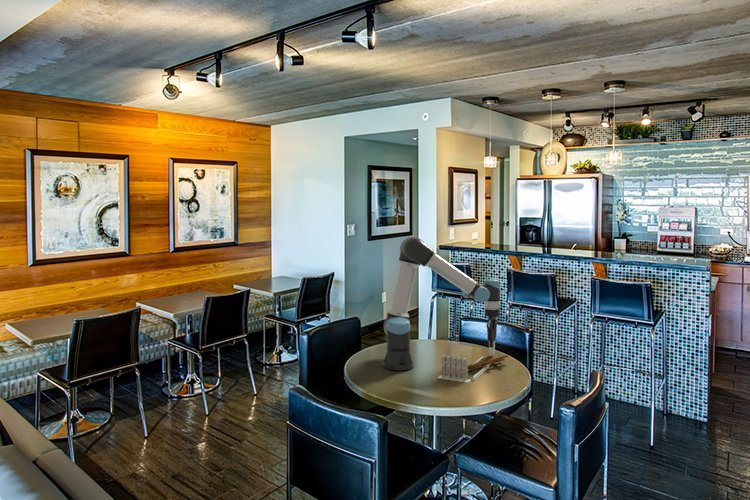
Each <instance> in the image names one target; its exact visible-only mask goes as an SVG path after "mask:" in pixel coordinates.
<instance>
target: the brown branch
mask: <svg viewBox="0 0 750 500" xmlns="http://www.w3.org/2000/svg"><path fill="white" fill-rule="evenodd" d="M507 358H509V355H508V354H507V355H504V356H499V357H496V358H492V359H489V360H484V361H479V362H478V363H477V364H473V363H472V364H473V365H472V364H470V365H467V368H469V370H470V371H471V370H475V369H478V368H481V367H485V366H486V365H489V364H492V365H493V364H495V363H498V362H499V363H500V362H504V361H505V360H506V359H507Z"/></svg>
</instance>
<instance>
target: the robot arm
mask: <svg viewBox="0 0 750 500" xmlns="http://www.w3.org/2000/svg"><path fill="white" fill-rule="evenodd" d="M399 249H400V253H399V257H398V258H399V259H398V262H399V264H400V267H399V271H398V277H397V281H396V285H395V290H394V295H393V299H392V304H391V308H390V309H389V310H388V311H387V314H386V319H385V320H384V321H383V331H384V333H385V335H386V351H385V355H384V358H383V362H382V364H383V366H382V367H383V368H385V369H387V370H391V371H392V370H393V371H406V370H411V369H413V368H414V365H415V363H414V361H415V360H414V359H413V356H412V351H411V321H410V320H409V319H410V314H409V313H408V311H409V307H410V302H411V297H412V292H413V288H414V283H415V279H416V274H417V269H418V268H419V267H420V266H422V267H425V268H426V267H427V268H429V269H431V270H432V271H433V272H435V273H436V274H438V275H439V276H441V277H442V278H444V279H445V280H446V281H448V282H449V283H451V284H453V286H455V287H457V288H458V289H460V290H461V294H462V297H463V298H464V299H466V298H467V299H473V300H476V301H477V302H479V303H484V316H485V317H488V318H487V320H486V321H487V323H486V329H487V330H486V332H487V333H486V334H487V341H488V353H489V354H496V353H495V352H496V349H495V348H496V341H497V329H498V320H497V318H498V317H500V305H501V302H500V290H501V287H500V281H499V280H498V279H494V278H491V279H490V278H489V279H485V280H484V282H483V283H478V281H476V280H474V279H473V278H471V277H470V276H469V275H468V274H465V272H463V271H462V270H460V269H458V268H457V267H455V266H454V265H453V264H451V263H450V262H448V261H447V260H445V259H444V258H443V257H441V256H440V255H439V254H436V250H435V249H433V248H432V247H431V246H429V245H428V244H427V243H426V242H425V241H424V240H422V239H421V238H419V237H415V236H414V237H413V236H411V237H407V238H405V239H404V240H403V241H402V242H401V244H400V248H399Z"/></svg>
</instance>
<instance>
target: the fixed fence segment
mask: <svg viewBox="0 0 750 500" xmlns="http://www.w3.org/2000/svg"><path fill="white" fill-rule="evenodd" d="M467 366H468V357H461V356H455V355H453V356H452V355H447V354H442V355H441V375H442V377H444V378H445V377H446V376H447V378H451V377H452V379H456V378H457V379H458V380H461V379H462V378H463V380H464V381H466V380H467V379H468V372H467Z"/></svg>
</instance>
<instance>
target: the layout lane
mask: <svg viewBox="0 0 750 500" xmlns="http://www.w3.org/2000/svg"><path fill="white" fill-rule="evenodd" d="M483 357H484V356H481V357H480V358H478V360H476V361H475V362H472V364H471V365H473V364H477V363H480V362H481V361H482V360H483V359H484V358H483ZM482 358H483V359H482ZM481 359H482V360H481ZM490 365H491V364H489V365H485V366H483V368H482V369H480V370H479V371H478V372H477V373H475V374H474V375H473V376H472V381H475V380H477V379H478V378H479V377H481V376H482V374H484V373H485V372H486V371H487V370H488V369H489V368H490V367H491V366H492V365H491V366H490ZM489 366H490V367H489ZM470 371H471V370H469V368H467V373H469V372H470Z"/></svg>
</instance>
